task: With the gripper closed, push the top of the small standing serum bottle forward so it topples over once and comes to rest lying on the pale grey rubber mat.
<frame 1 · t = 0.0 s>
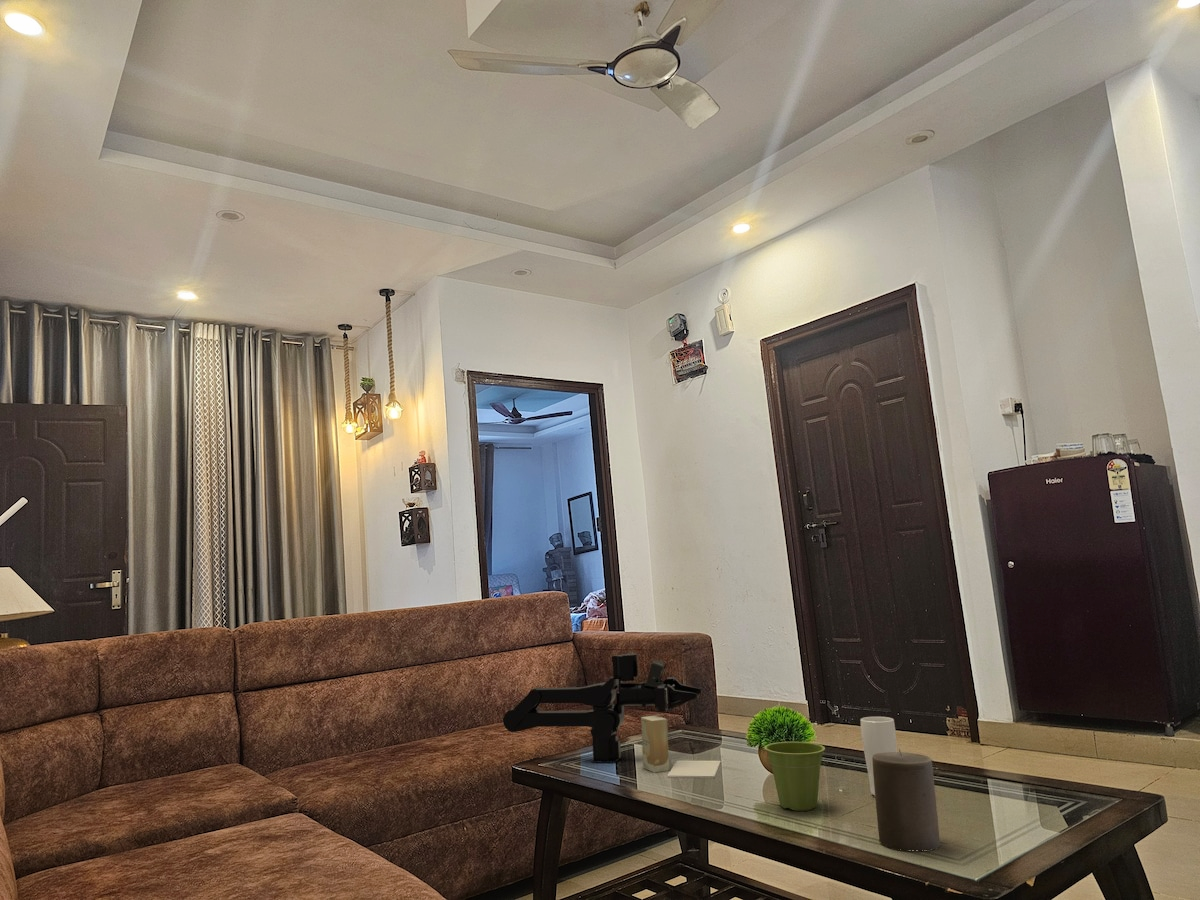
hand: (698, 693, 205), 17 cm above the table, tool horizontal, fingers open, 9 cm apart
drinking glass: (884, 796, 162), on the table
pillar candle: (910, 844, 133), on the table
skincare box: (656, 770, 194), on the table
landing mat: (695, 769, 192), on the table
plant pot: (799, 807, 157), on the table
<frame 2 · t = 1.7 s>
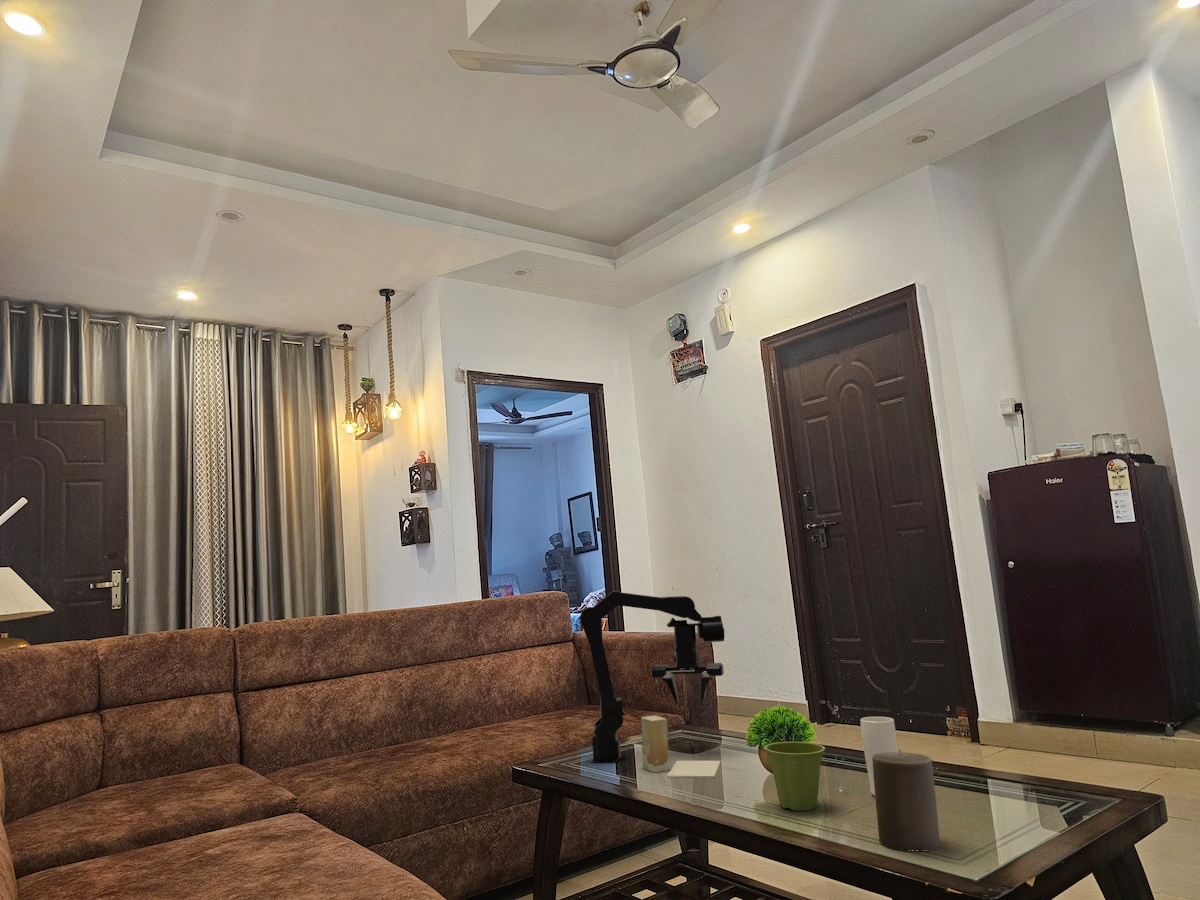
hand: (689, 703, 211), 13 cm above the table, tool pointing down, fingers open, 6 cm apart
nothing on the table moved.
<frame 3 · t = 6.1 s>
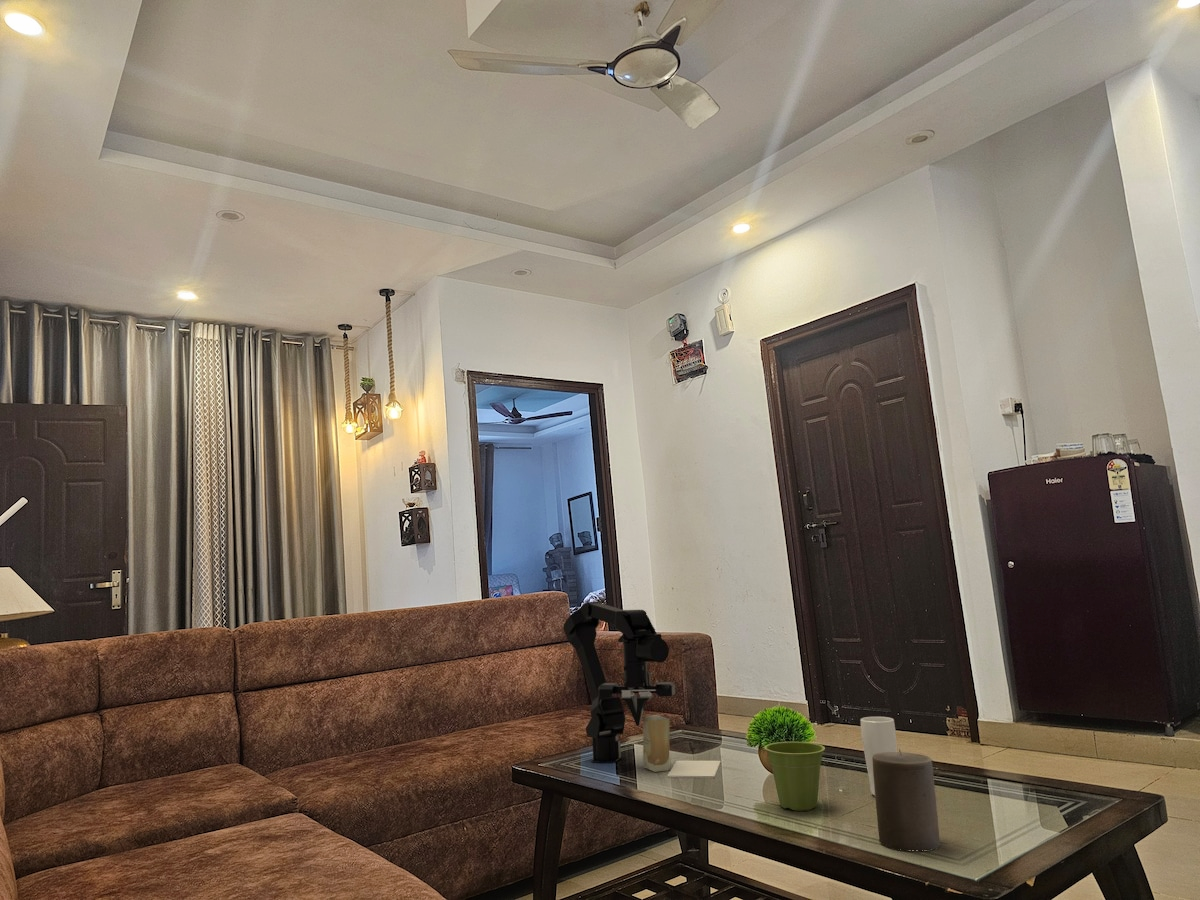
hand: (638, 725, 197), 10 cm above the table, tool pointing down, fingers closed
skincare box: (656, 769, 195), on the table, touching gripper
everything else where it was.
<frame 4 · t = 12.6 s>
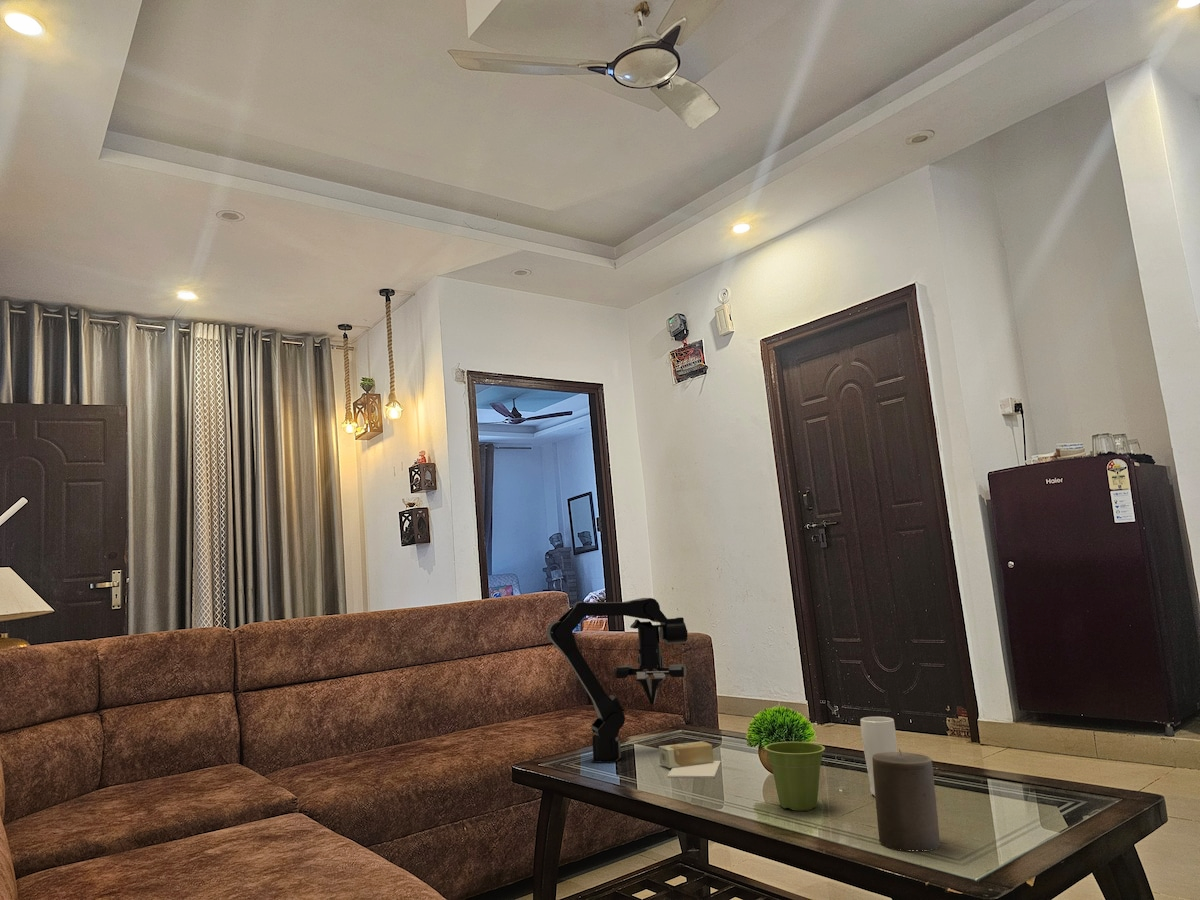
hand: (652, 704, 213), 13 cm above the table, tool pointing down, fingers closed
skincare box: (662, 757, 196), point 3 cm above the table, touching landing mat
everything else where it was.
at the end: skincare box tilted 90°; skincare box inside the target area (7.1 cm from its centre), point 2.5 cm above the table; skincare box touching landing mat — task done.
